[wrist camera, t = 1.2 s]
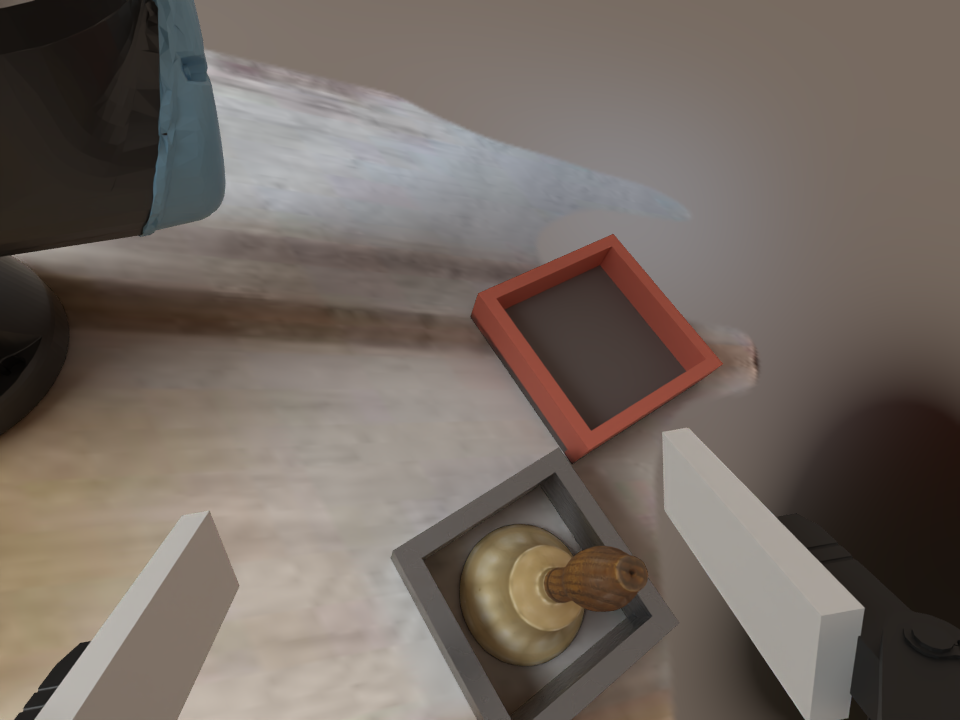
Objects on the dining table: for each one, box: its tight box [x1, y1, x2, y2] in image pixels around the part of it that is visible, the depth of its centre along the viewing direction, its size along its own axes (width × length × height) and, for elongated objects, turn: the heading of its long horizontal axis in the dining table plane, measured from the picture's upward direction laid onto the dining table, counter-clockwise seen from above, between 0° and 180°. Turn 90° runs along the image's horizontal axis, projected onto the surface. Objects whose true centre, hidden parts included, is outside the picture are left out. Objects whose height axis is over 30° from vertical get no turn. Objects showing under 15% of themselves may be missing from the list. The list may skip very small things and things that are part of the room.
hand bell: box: [460, 524, 648, 666], centre depth 27 cm, size 8×8×16 cm
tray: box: [471, 234, 723, 464], centre depth 41 cm, size 14×14×3 cm
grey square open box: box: [391, 448, 679, 720], centre depth 32 cm, size 12×12×4 cm
